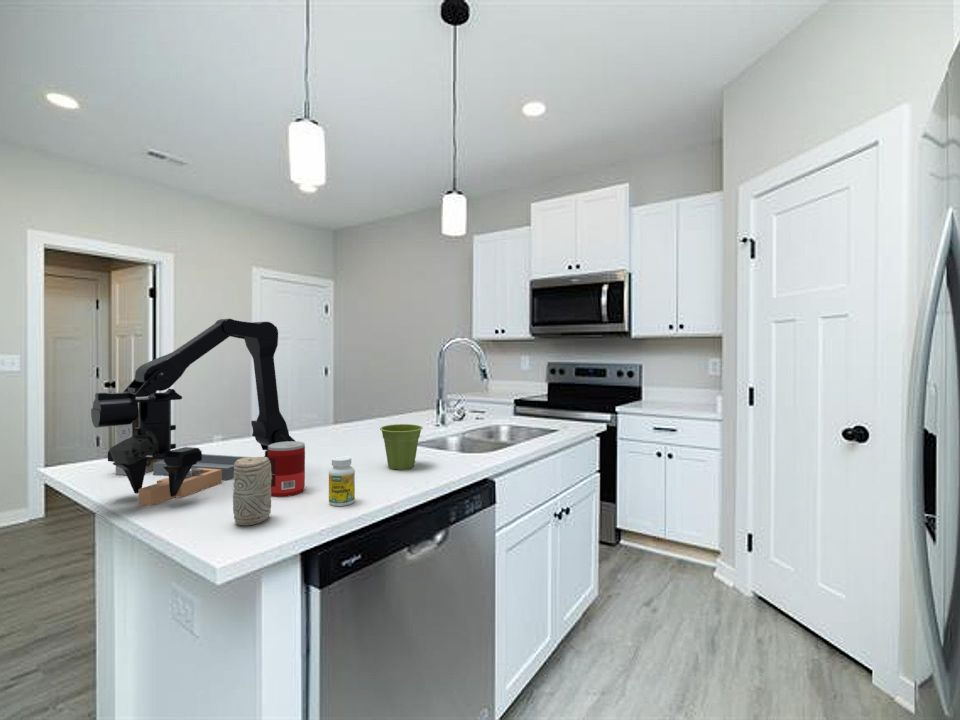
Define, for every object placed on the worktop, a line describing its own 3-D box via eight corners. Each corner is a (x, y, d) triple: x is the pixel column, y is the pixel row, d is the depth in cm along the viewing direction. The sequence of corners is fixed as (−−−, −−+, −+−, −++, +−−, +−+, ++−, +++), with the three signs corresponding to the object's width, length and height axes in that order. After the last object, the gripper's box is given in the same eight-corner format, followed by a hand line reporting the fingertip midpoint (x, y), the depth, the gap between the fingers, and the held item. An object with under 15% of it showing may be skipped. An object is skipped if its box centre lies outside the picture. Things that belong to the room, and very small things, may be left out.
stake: (204, 488, 110) (204, 468, 110) (197, 490, 109) (197, 470, 108) (189, 486, 111) (189, 467, 111) (183, 489, 109) (183, 469, 109)
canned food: (311, 489, 111) (312, 442, 111) (287, 498, 103) (287, 449, 103) (285, 485, 113) (285, 440, 113) (259, 495, 106) (260, 446, 106)
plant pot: (370, 468, 131) (370, 427, 130) (400, 460, 140) (401, 422, 140) (401, 475, 124) (401, 432, 124) (431, 466, 134) (431, 426, 133)
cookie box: (135, 476, 120) (135, 413, 120) (114, 474, 121) (114, 412, 121) (166, 467, 129) (165, 409, 129) (146, 466, 130) (146, 408, 130)
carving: (225, 528, 86) (225, 463, 86) (245, 514, 93) (245, 454, 93) (259, 528, 86) (260, 463, 86) (277, 514, 93) (277, 454, 93)
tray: (259, 468, 129) (259, 457, 129) (227, 480, 117) (227, 468, 117) (190, 463, 134) (190, 453, 134) (153, 474, 122) (153, 463, 122)
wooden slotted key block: (199, 480, 117) (199, 467, 117) (221, 482, 115) (221, 469, 115) (131, 503, 99) (131, 488, 99) (157, 506, 98) (157, 490, 98)
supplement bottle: (355, 498, 104) (355, 455, 104) (354, 506, 99) (354, 460, 99) (329, 499, 103) (329, 456, 103) (327, 507, 98) (327, 461, 98)
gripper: (80, 425, 95) (81, 503, 95) (158, 430, 91) (158, 510, 91) (132, 418, 105) (132, 487, 106) (203, 421, 102) (203, 493, 102)
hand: (155, 494), depth 101 cm, fingers open, 9 cm apart
